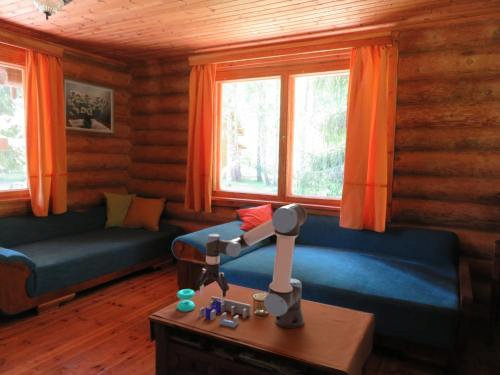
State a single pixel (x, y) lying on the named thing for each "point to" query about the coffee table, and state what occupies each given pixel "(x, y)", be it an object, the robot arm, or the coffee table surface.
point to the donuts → (186, 304)
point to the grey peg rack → (228, 306)
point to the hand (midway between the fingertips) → (212, 299)
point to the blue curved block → (215, 307)
